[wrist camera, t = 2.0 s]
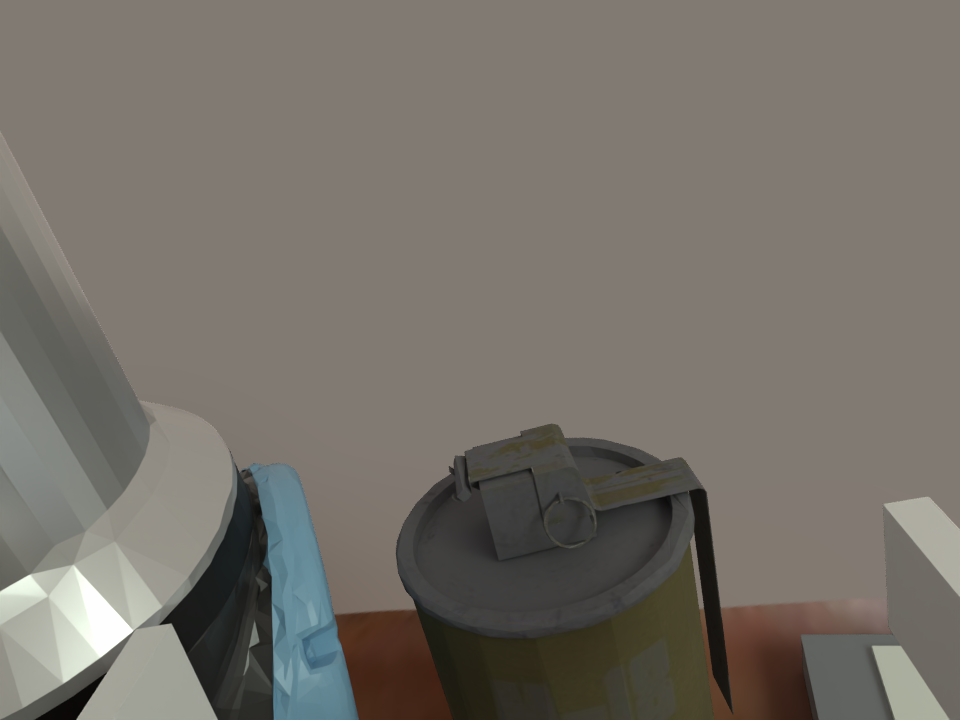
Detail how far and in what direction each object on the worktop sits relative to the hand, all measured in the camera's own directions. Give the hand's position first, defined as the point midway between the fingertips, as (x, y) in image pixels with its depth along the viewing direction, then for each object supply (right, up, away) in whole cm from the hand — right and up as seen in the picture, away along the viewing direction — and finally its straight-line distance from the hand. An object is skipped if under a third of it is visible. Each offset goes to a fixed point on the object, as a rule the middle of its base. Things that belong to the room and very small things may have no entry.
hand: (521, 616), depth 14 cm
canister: (+5, -16, +19) cm, 25 cm away
